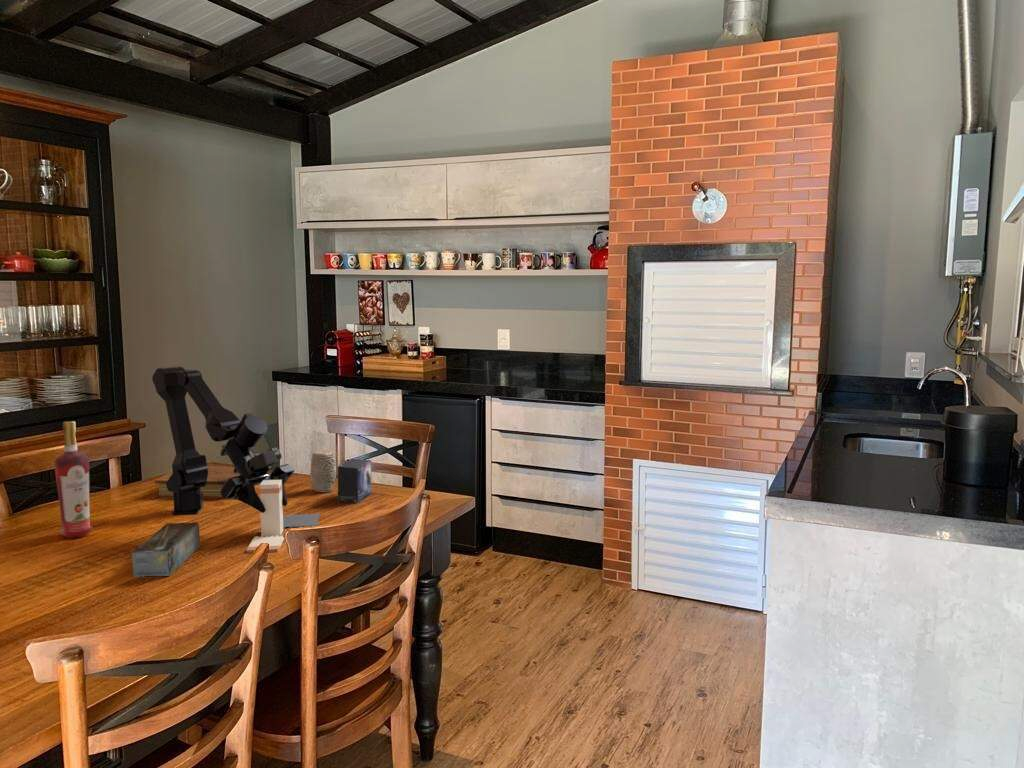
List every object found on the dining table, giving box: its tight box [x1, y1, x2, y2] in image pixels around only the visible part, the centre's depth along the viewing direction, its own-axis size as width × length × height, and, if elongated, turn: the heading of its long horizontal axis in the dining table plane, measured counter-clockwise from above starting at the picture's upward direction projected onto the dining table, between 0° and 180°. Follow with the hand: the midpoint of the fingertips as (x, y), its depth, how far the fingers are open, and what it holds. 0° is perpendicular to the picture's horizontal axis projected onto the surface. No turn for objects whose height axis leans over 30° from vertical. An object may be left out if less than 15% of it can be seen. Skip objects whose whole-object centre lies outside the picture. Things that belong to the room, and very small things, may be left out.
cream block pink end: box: [245, 534, 285, 554], centre depth 180 cm, size 10×7×1 cm
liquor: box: [53, 420, 93, 539], centre depth 184 cm, size 7×7×28 cm
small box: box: [337, 458, 372, 504], centre depth 220 cm, size 11×6×10 cm, turn 168°
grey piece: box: [131, 521, 201, 578], centre depth 169 cm, size 8×19×7 cm, turn 3°
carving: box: [309, 449, 337, 493], centre depth 227 cm, size 6×8×12 cm
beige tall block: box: [258, 480, 284, 536], centre depth 188 cm, size 5×5×13 cm
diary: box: [154, 465, 240, 500], centre depth 228 cm, size 23×19×6 cm
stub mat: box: [283, 513, 321, 529], centre depth 198 cm, size 10×10×1 cm
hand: (275, 508), depth 187 cm, fingers closed on beige tall block, 6 cm apart
